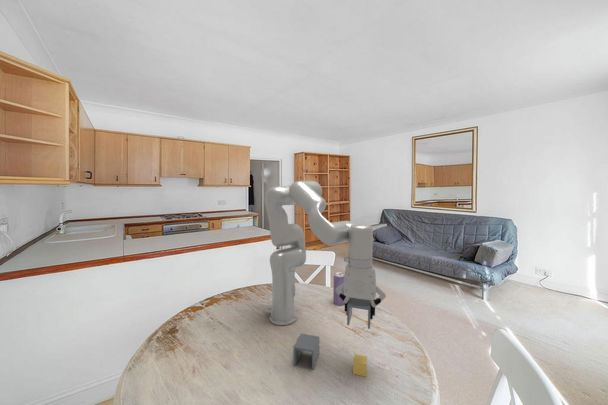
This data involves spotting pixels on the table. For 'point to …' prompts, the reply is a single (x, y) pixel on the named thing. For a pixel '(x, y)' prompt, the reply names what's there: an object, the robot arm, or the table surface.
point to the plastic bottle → (292, 272)
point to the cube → (360, 365)
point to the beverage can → (337, 281)
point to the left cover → (306, 347)
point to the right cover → (359, 305)
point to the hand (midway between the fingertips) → (359, 315)
